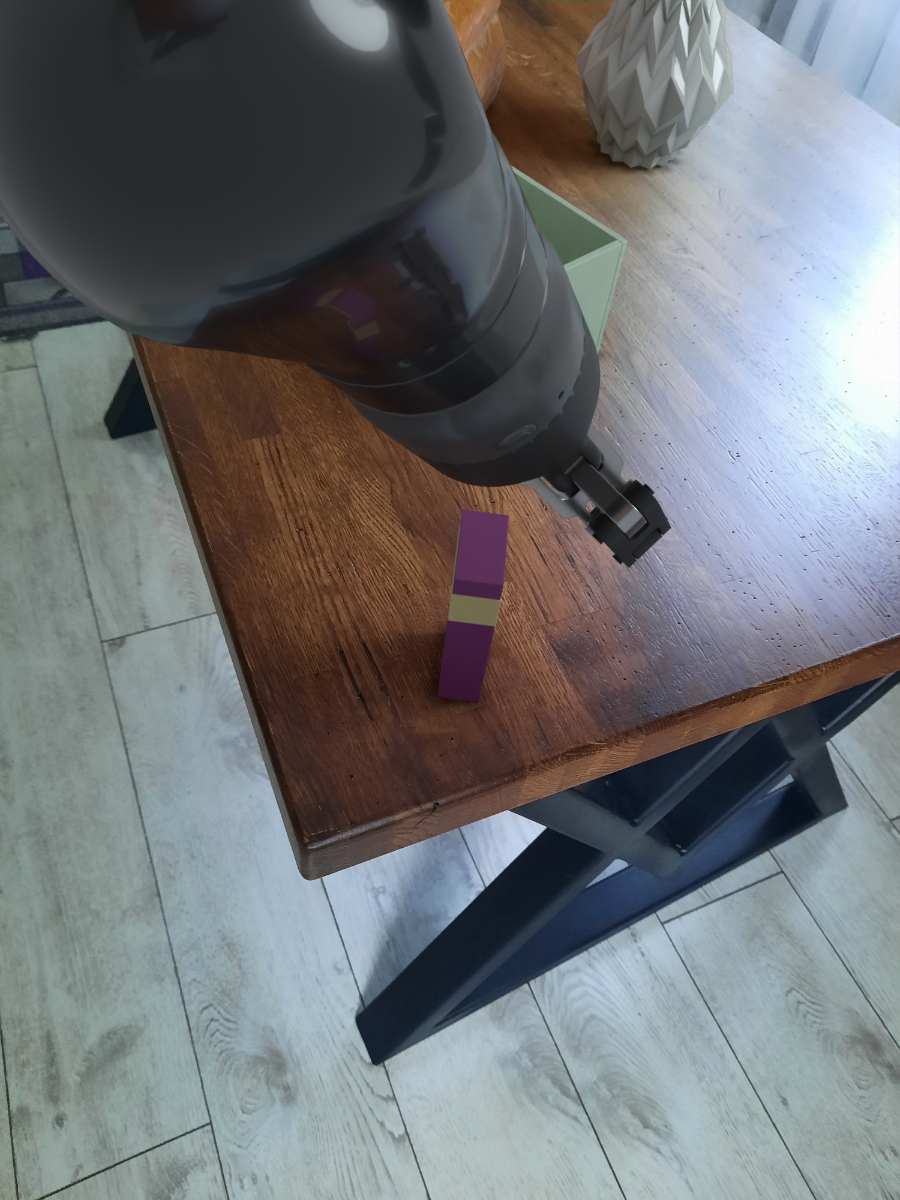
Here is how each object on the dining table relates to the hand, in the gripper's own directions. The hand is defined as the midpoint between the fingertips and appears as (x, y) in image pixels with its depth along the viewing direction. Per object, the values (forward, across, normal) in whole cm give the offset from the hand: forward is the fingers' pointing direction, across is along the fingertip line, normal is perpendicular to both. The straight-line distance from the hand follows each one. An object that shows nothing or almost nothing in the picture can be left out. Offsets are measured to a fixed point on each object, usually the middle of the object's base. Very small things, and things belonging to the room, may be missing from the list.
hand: (555, 458), depth 45 cm
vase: (+55, +35, -31) cm, 72 cm away
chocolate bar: (+13, -2, +13) cm, 19 cm away
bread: (+48, +52, -16) cm, 72 cm away
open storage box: (+31, +21, -4) cm, 38 cm away
